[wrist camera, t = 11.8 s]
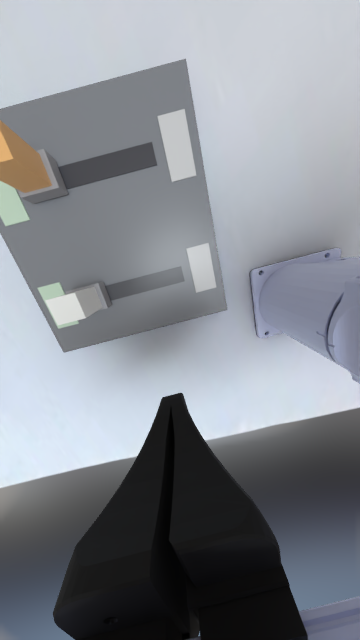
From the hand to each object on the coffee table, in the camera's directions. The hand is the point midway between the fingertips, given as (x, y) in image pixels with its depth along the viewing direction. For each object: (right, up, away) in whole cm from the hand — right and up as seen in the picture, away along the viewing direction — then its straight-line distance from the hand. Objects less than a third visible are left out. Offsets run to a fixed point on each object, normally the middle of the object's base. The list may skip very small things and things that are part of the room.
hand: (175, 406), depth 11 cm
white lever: (-8, +8, +4) cm, 12 cm away
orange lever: (-10, +16, +2) cm, 19 cm away
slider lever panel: (-5, +13, +5) cm, 15 cm away
